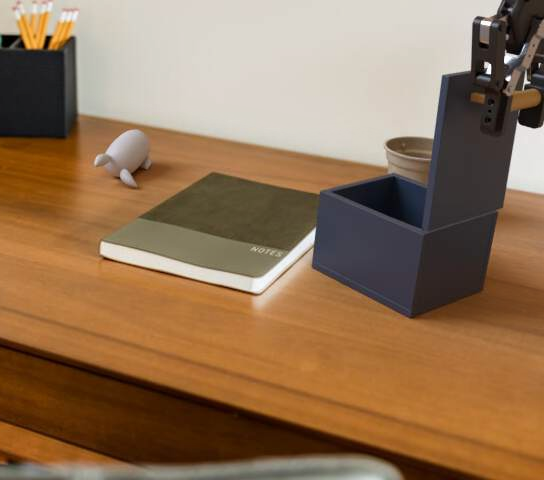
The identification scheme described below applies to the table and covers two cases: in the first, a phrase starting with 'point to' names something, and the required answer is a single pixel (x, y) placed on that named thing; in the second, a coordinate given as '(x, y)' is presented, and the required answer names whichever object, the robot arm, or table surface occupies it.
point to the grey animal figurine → (126, 156)
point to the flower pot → (409, 156)
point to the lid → (469, 152)
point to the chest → (399, 245)
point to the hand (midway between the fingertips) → (511, 129)
